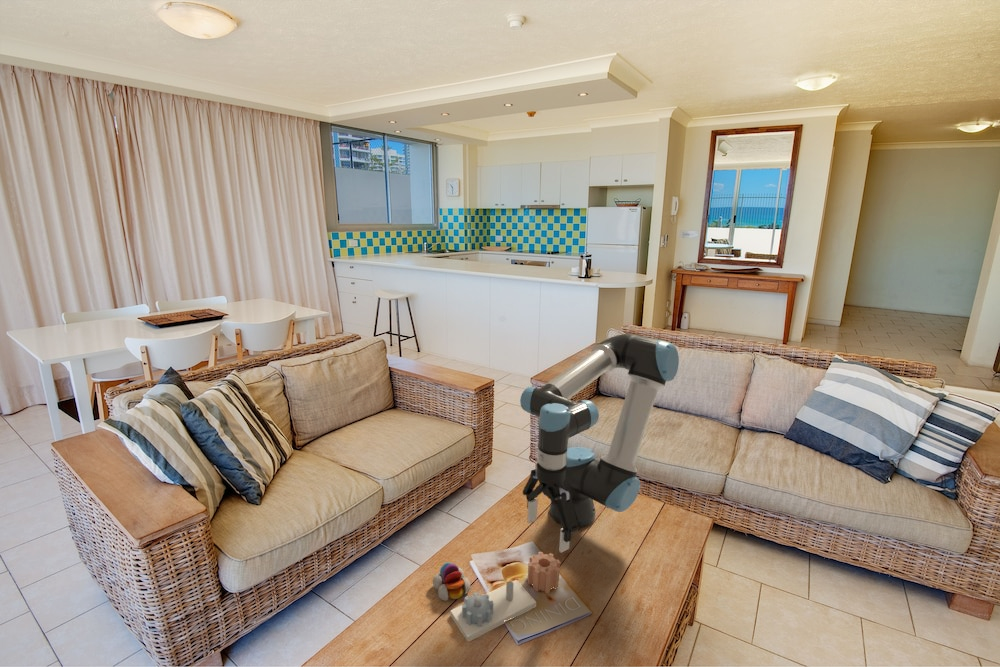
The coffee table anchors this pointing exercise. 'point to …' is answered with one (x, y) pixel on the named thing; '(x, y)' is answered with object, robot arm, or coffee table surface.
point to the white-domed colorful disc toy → (451, 582)
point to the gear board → (491, 609)
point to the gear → (543, 572)
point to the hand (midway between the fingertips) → (547, 535)
